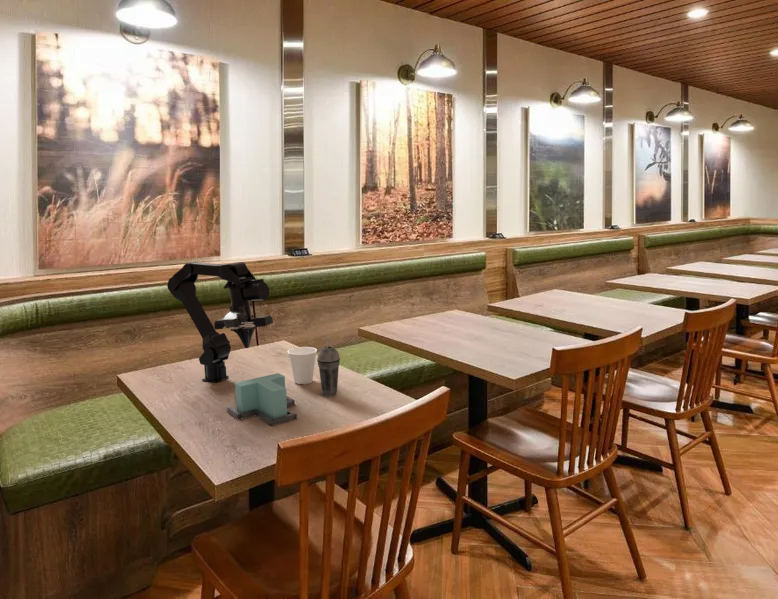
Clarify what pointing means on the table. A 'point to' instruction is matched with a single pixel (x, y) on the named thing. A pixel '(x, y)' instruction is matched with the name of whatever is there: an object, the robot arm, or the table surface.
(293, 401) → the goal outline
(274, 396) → the t block
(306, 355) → the cup
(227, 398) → the table surface
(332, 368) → the beverage cup
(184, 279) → the robot arm
